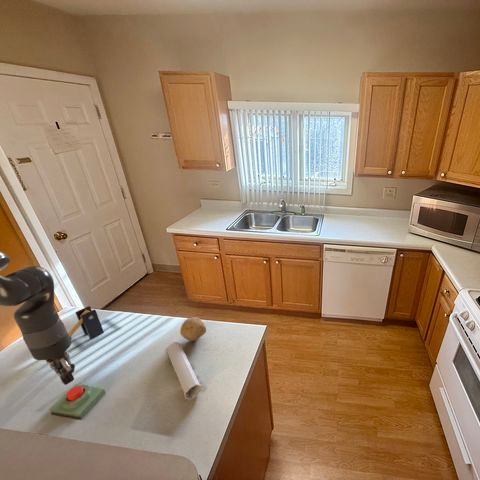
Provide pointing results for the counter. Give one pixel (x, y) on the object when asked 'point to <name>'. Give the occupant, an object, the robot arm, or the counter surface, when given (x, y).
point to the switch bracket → (90, 322)
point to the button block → (78, 402)
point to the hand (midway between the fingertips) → (68, 381)
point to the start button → (75, 393)
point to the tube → (184, 371)
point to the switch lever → (77, 325)
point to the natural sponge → (192, 329)
